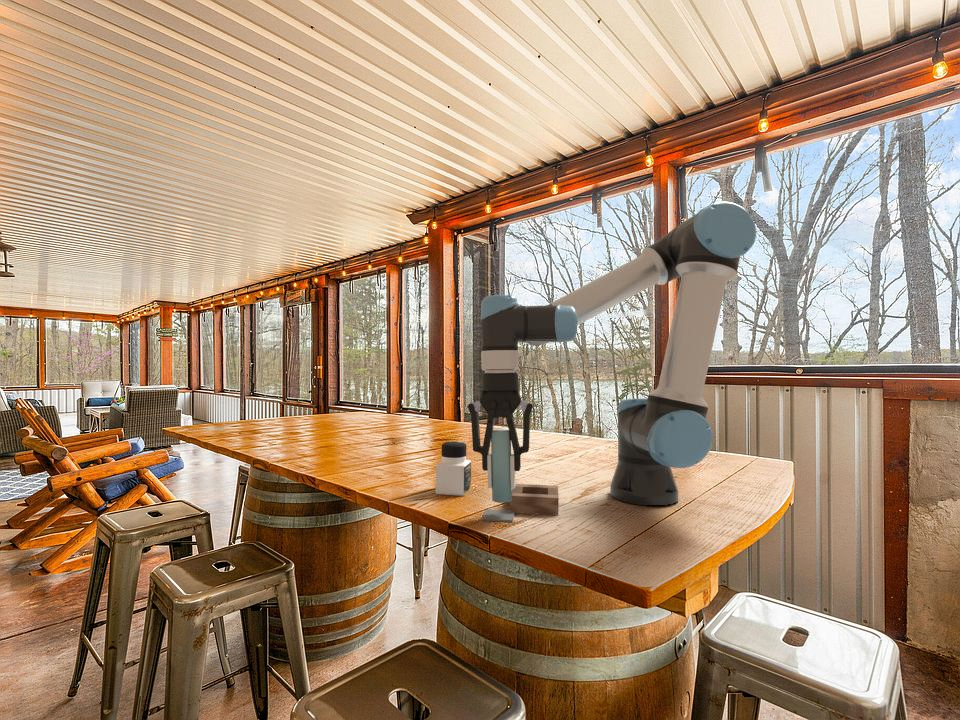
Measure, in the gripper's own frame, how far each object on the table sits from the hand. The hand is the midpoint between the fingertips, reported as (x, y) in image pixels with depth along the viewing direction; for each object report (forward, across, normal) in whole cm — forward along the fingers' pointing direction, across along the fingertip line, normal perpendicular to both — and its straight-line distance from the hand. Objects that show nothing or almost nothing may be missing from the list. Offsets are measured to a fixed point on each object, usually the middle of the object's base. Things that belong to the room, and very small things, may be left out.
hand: (501, 486), depth 95 cm
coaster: (+6, +1, 0) cm, 6 cm away
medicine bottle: (+6, +14, -17) cm, 23 cm away
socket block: (+6, -6, -8) cm, 12 cm away
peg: (+3, 0, 0) cm, 3 cm away
